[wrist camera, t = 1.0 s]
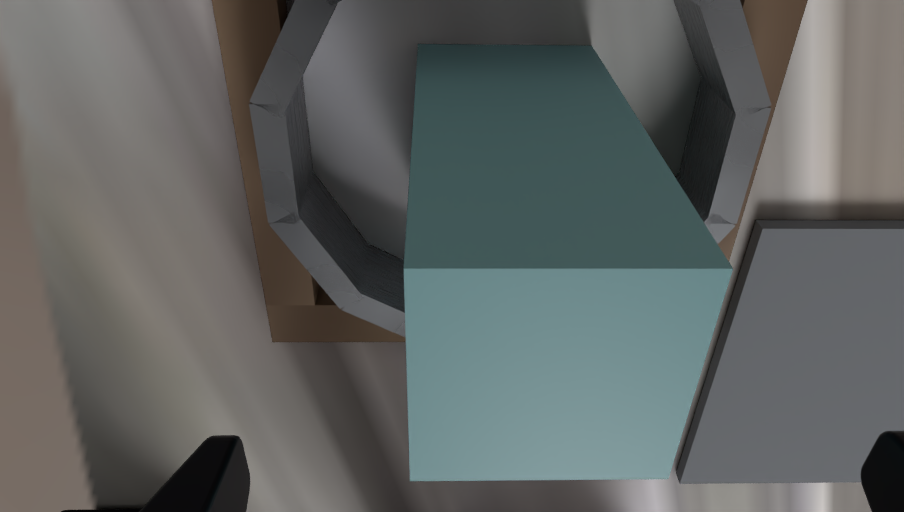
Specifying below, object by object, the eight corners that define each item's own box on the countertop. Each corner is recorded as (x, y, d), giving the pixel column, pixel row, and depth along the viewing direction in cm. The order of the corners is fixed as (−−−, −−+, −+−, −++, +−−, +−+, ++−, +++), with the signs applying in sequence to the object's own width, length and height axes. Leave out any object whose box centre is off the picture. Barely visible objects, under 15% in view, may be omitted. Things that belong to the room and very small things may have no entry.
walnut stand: (278, 322, 22) (272, 342, 22) (195, -179, 15) (179, -178, 14) (694, 321, 23) (704, 340, 22) (834, -168, 15) (857, -165, 14)
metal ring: (302, 300, 22) (289, 353, 20) (243, -130, 15) (212, -119, 13) (673, 300, 22) (698, 351, 20) (781, -122, 15) (836, -109, 13)
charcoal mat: (676, 473, 27) (679, 483, 27) (755, 219, 21) (762, 228, 20) (965, 471, 28) (973, 481, 27) (1137, 220, 21) (1151, 229, 20)
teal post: (419, 197, 20) (409, 481, 12) (418, 43, 17) (403, 268, 9) (571, 197, 20) (668, 479, 12) (591, 45, 17) (733, 269, 9)
